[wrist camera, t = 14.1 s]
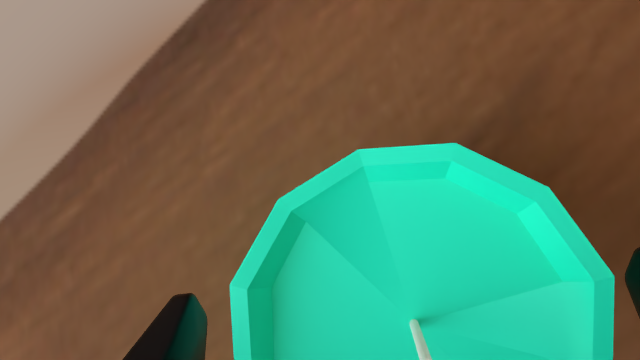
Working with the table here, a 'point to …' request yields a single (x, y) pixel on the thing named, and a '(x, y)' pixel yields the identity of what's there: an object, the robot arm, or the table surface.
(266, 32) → the table surface
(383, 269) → the candle
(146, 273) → the table surface
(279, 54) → the table surface
